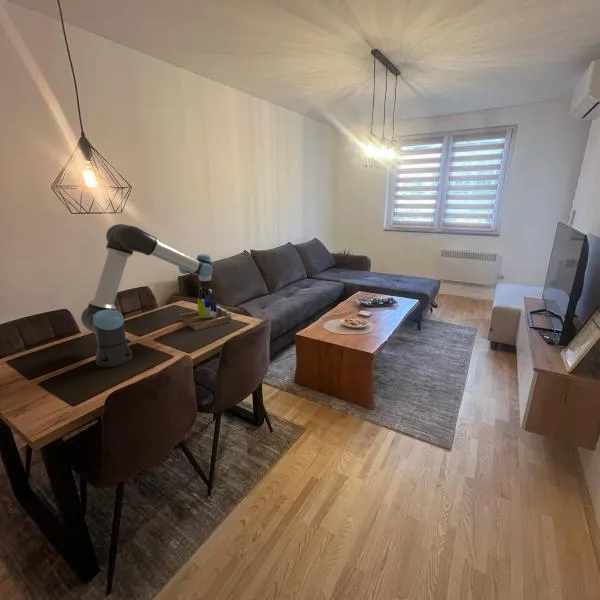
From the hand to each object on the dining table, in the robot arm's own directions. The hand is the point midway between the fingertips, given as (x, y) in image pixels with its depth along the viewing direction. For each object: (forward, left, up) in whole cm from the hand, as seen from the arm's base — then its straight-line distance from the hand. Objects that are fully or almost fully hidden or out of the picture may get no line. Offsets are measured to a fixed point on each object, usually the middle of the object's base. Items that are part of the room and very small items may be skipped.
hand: (207, 313), depth 207 cm
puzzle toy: (0, 0, -2) cm, 2 cm away
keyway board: (0, +1, -5) cm, 5 cm away
